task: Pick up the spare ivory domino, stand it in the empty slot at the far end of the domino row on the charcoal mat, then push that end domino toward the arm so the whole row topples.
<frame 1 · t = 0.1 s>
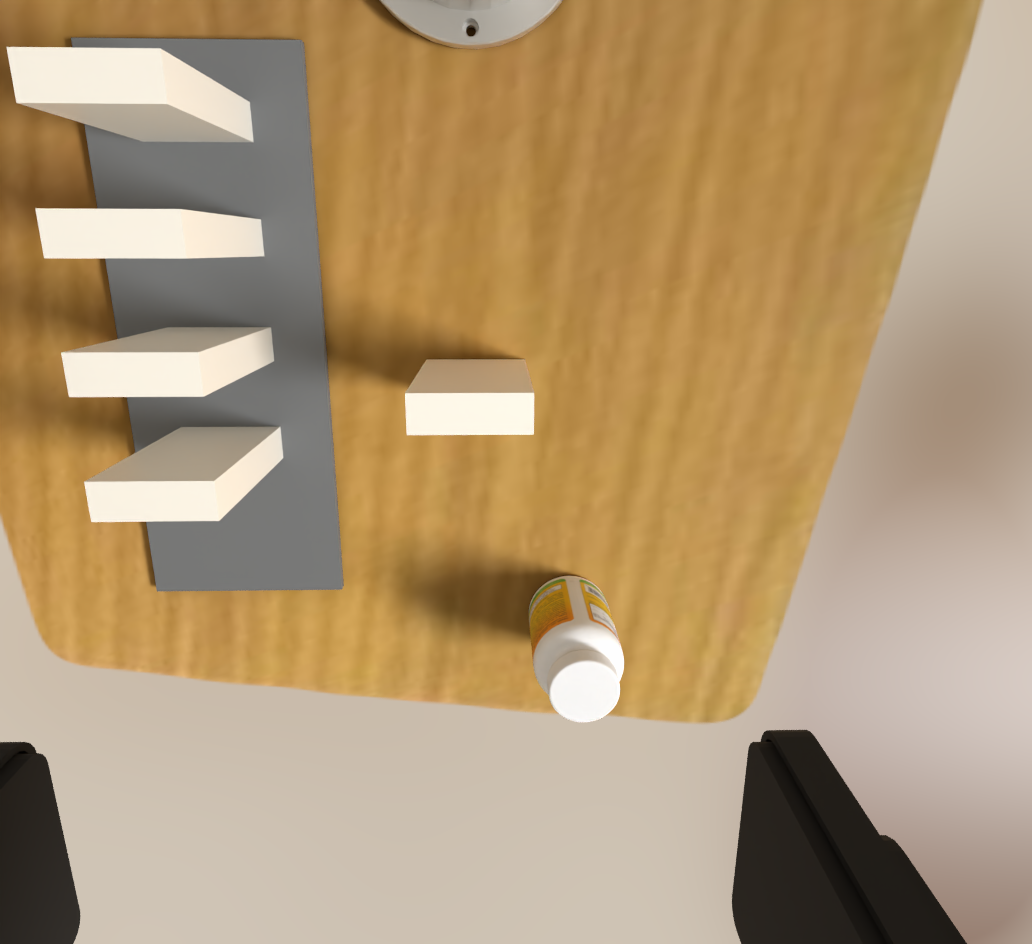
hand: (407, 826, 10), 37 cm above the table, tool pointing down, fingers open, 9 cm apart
domino 3: (221, 344, 43), point 1 cm above the table, touching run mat
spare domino: (476, 375, 45), on the table
domino 2: (232, 442, 45), point 1 cm above the table, touching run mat
domino 5: (195, 121, 40), point 1 cm above the table, touching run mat
supplement bottle: (567, 608, 50), on the table
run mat: (225, 343, 44), on the table
domino 4: (209, 237, 41), point 1 cm above the table, touching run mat
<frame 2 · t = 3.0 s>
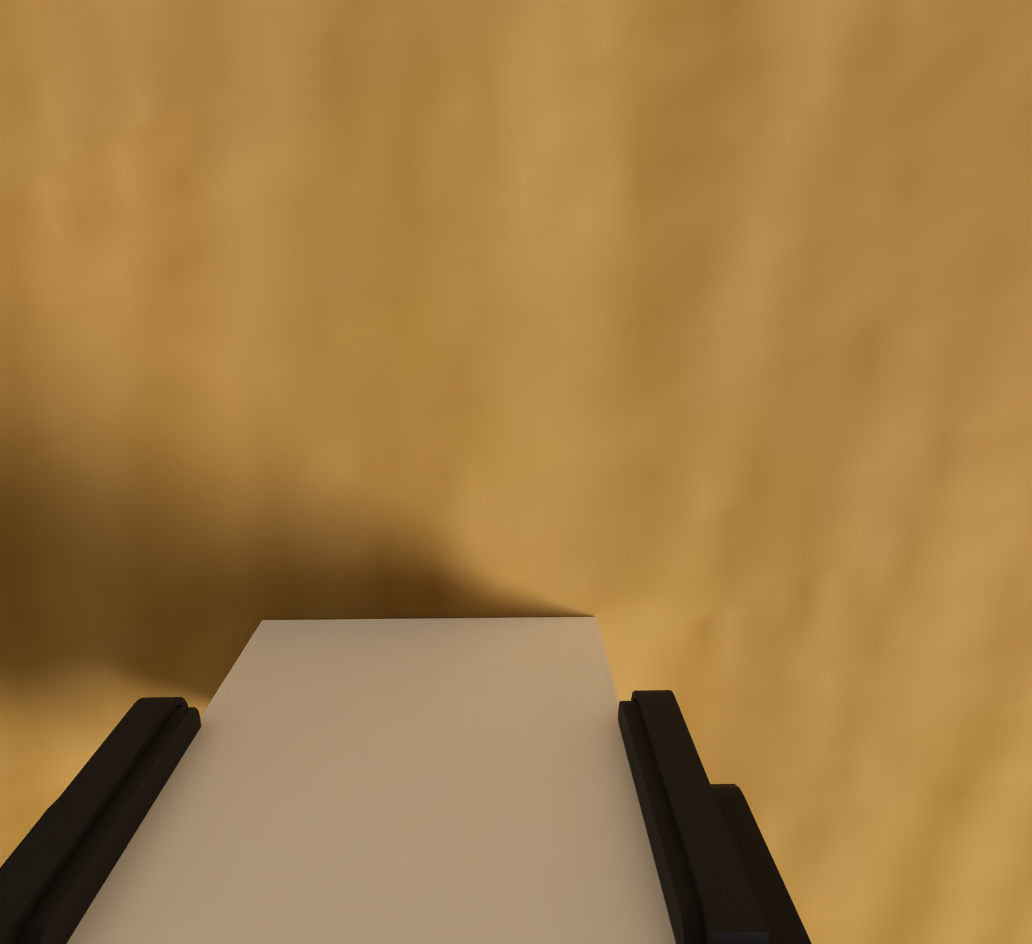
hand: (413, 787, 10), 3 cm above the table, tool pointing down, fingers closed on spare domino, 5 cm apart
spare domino: (431, 667, 13), on the table, touching gripper
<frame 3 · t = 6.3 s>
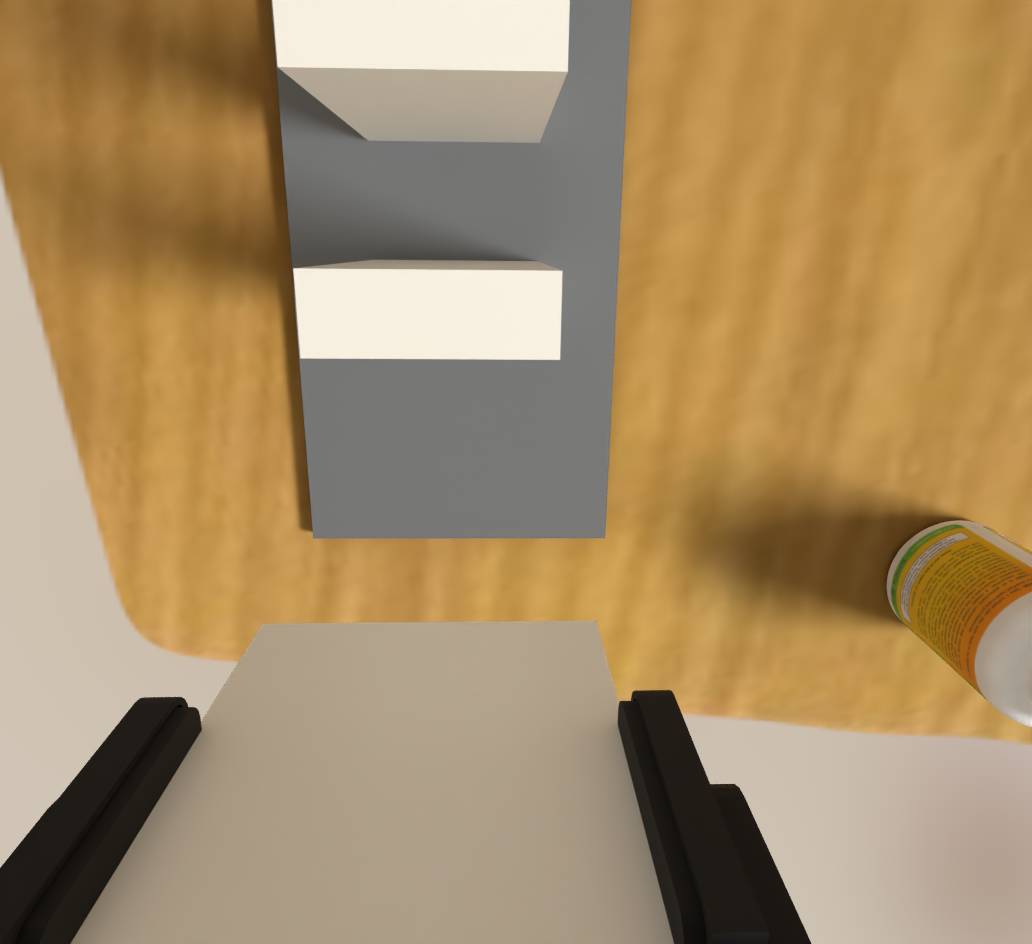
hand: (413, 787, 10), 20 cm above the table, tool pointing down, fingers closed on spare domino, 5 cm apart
domino 3: (453, 110, 25), point 1 cm above the table, touching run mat
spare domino: (432, 670, 13), point 17 cm above the table, touching gripper
domino 2: (456, 288, 27), point 1 cm above the table, touching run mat
supplement bottle: (941, 573, 32), on the table
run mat: (454, 113, 26), on the table
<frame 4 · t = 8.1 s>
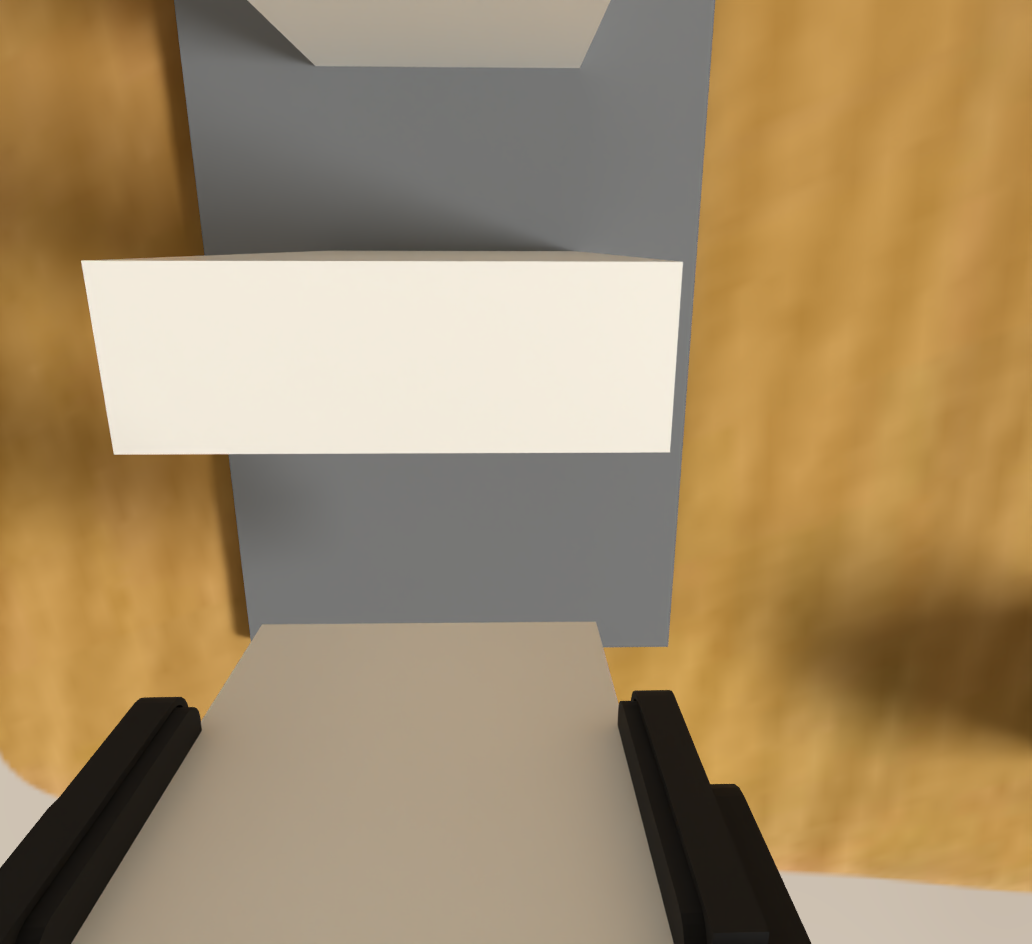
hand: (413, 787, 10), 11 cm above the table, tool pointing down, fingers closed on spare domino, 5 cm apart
domino 3: (446, 17, 16), point 1 cm above the table, touching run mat
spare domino: (431, 671, 13), point 7 cm above the table, touching gripper
domino 2: (453, 292, 18), point 1 cm above the table, touching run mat
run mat: (448, 24, 17), on the table
when the fingers open (5 cm above the table, at t = 9.7 s): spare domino stays where it is, resting on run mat.
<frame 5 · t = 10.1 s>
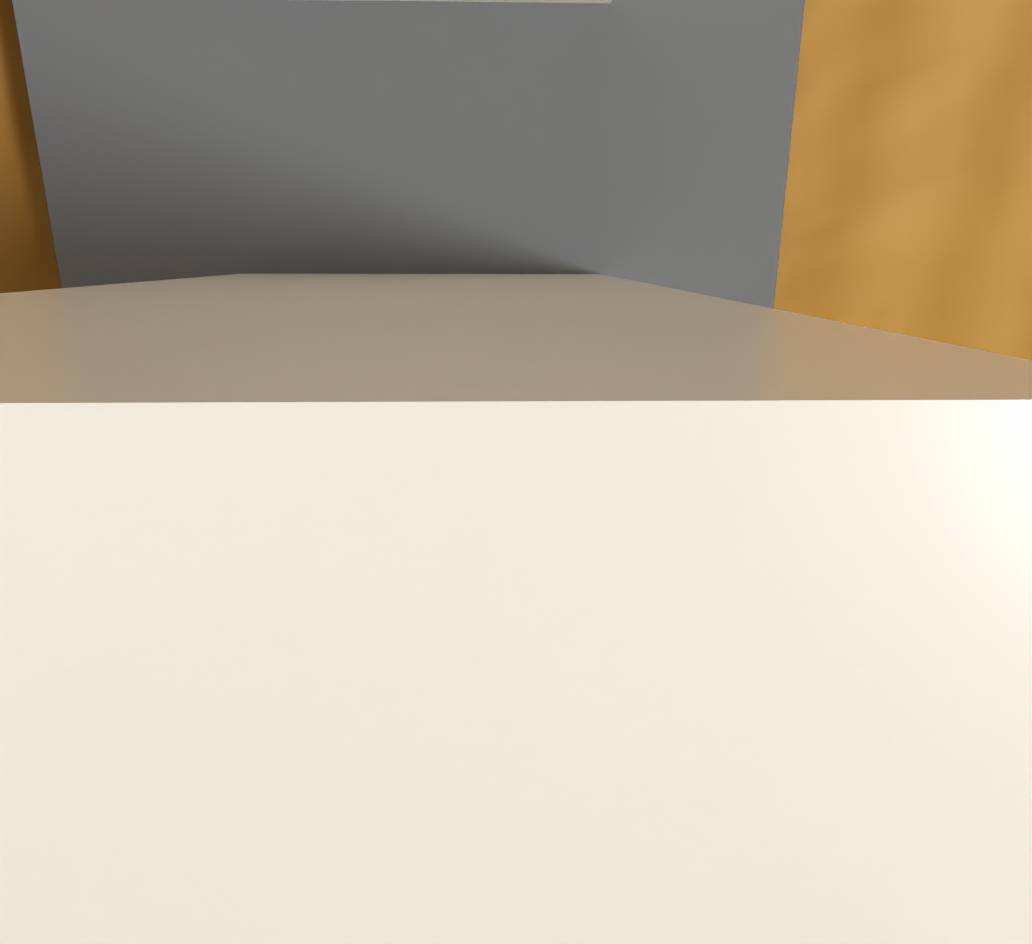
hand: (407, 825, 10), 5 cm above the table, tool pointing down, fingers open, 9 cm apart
domino 2: (424, 334, 13), point 1 cm above the table, touching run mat
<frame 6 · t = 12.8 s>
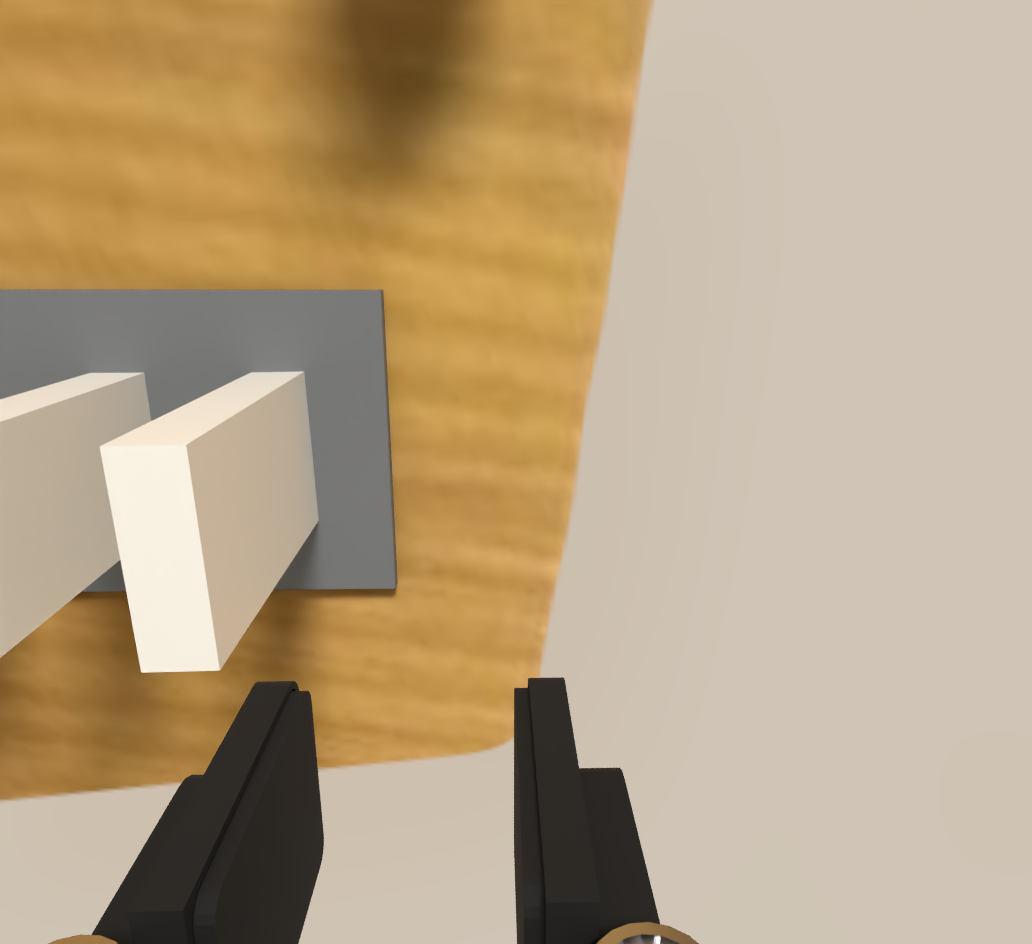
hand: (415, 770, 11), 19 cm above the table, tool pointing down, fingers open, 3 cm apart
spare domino: (285, 448, 28), point 1 cm above the table, touching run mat
domino 2: (129, 449, 28), point 1 cm above the table, touching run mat
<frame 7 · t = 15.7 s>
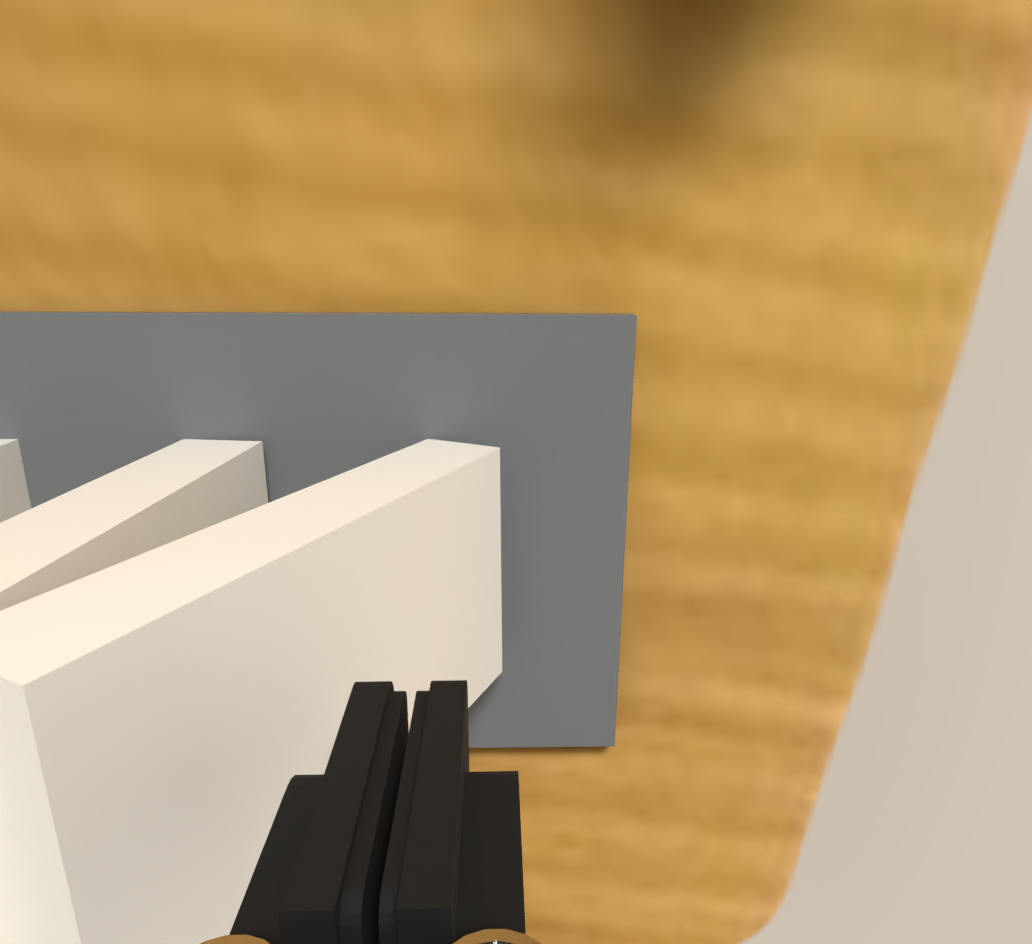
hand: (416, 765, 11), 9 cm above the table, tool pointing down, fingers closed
domino 3: (0, 553, 19), point 1 cm above the table, touching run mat
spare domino: (466, 557, 18), point 1 cm above the table, tilted 28°, touching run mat
domino 2: (235, 553, 19), point 1 cm above the table, tilted 7°, touching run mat
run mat: (15, 544, 19), on the table
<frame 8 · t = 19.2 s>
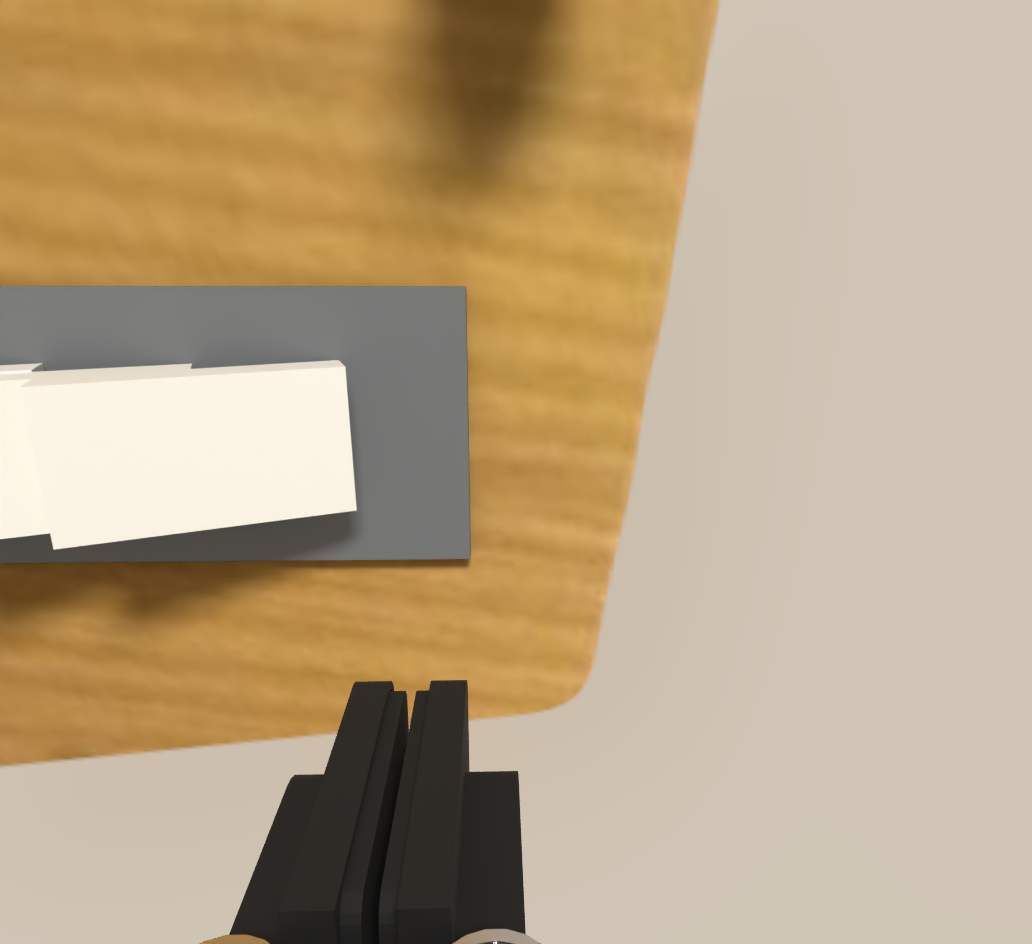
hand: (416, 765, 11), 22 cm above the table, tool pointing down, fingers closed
domino 3: (51, 439, 30), point 2 cm above the table, tilted 71°, touching domino 2, domino 4, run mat
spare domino: (347, 435, 30), point 2 cm above the table, tilted 71°, touching domino 2, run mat
domino 2: (200, 439, 30), point 2 cm above the table, tilted 71°, touching domino 3, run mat, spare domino
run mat: (98, 428, 32), on the table
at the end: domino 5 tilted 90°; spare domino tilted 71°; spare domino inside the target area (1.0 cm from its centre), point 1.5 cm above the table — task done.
